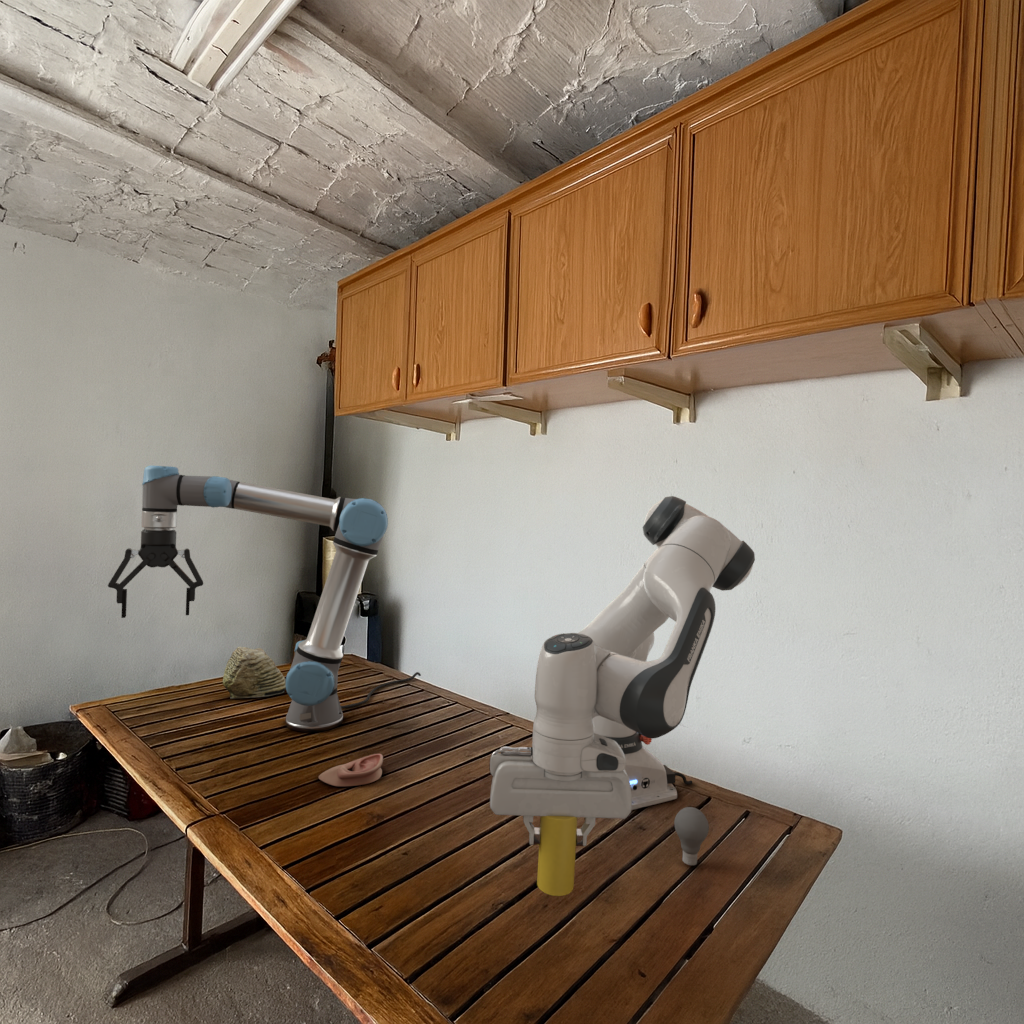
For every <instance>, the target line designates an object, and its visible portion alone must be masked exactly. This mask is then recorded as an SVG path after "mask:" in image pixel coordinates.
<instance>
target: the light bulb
mask: <svg viewBox="0 0 1024 1024" xmlns="http://www.w3.org/2000/svg"><path fill="white" fill-rule="evenodd" d="M673 825H674V830H675V832H676V834H677V836H678V838H679V840H680V846H681V849H682V858H681V860H682V862H683V863H684V864H686V865H688V866H696V865H697V864H698V854H699V852H700V849H701V846H702V844H703V842H704V841H705V840H706V838H707V836H708V834H709V830H710V824H709V821H708V819H707V817H706V815H705V814H704V812H702V811H701V810H700V809H698V808H697V807H692V806H685V807H683V808H681V809H680V810H679V811H678V812H677V813H676V815H675V818H674V822H673Z"/></svg>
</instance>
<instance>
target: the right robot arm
mask: <svg viewBox="0 0 1024 1024" xmlns="http://www.w3.org/2000/svg"><path fill="white" fill-rule="evenodd" d="M642 533H643V536H644V537H645V538H646V540H647V541H648V542H649V543H650V544H651V545H652V546H656V549H655V550H654V551H653V552H652V553H651V554H650V556H649V557H647V559H646V561H645V562H644V563H643V564H642V565H641V567H640V568H639V569H638V571H637V572H636V574H634V576H633V577H632V578H631V580H630V581H629V582H628V584H626V586H625V587H624V588H623V589H622V591H620V593H619V594H618V595H617V596H616V597H615V598H614V599H613V600H611V602H609V603H608V604H607V605H606V606H605V607H604V608H603V609H602V610H601V611H599V613H598V614H597V615H596V616H595V617H594V618H593V619H592V620H591V621H590V622H589V623H588V624H587V625H586V626H585V627H584V628H582V629H581V630H580V631H578V632H567V633H558V634H555V635H552V636H550V637H548V638H547V639H545V640H544V642H543V644H542V646H541V648H540V651H539V655H538V658H537V663H536V672H535V681H534V682H535V683H534V701H535V705H536V711H535V712H536V713H535V717H534V719H533V725H532V737H531V738H532V739H531V742H532V743H531V746H518V747H517V746H516V747H512V746H511V747H510V746H501V747H500V748H499V749H497V750H495V751H493V752H492V753H491V755H490V757H489V763H488V764H489V767H488V768H489V769H488V770H489V774H490V775H491V776H492V780H491V786H490V795H489V807H490V808H489V809H490V810H491V812H492V813H493V814H494V815H496V816H519V817H520V816H522V820H523V821H522V822H523V824H524V826H525V828H526V830H527V831H528V840H529V845H530V846H539V845H540V835H541V834H540V827H535V826H534V824H533V823H534V817H540V816H573V817H577V818H583V819H584V822H583V824H582V825H581V827H580V828H577V834H576V847H587V844H588V841H587V840H588V836H589V835H590V833H591V832H592V830H593V829H594V827H595V826H596V819H619V820H622V819H623V820H624V819H626V818H627V817H628V816H629V815H630V814H631V813H632V811H633V810H638V809H642V808H646V807H650V806H653V805H657V804H661V803H665V802H666V803H667V802H670V801H674V800H677V799H678V791H677V788H676V787H675V786H674V784H676V777H680V778H681V779H682V782H683V784H685V785H687V786H690V785H693V781H692V780H687V778H686V775H684V774H683V773H681V772H677V771H673V770H672V769H671V768H669V767H668V766H667V765H666V764H663V763H662V761H661V760H660V759H659V758H658V757H656V756H655V755H654V754H653V753H652V752H651V751H650V750H648V749H647V748H646V747H645V746H644V745H643V744H645V745H646V746H648V745H650V744H651V743H652V741H653V739H658V738H660V737H662V736H665V735H667V734H669V733H671V732H672V731H673V730H675V729H676V728H678V726H679V725H680V724H681V722H682V721H683V719H684V715H685V713H686V710H687V705H688V700H689V694H690V690H691V687H692V686H691V685H692V683H693V680H694V678H695V675H696V673H697V670H698V667H699V664H700V662H701V659H702V656H703V653H704V651H705V648H706V645H707V643H708V640H709V637H710V634H711V632H712V628H713V625H714V622H715V619H716V618H715V617H716V601H715V598H714V595H713V594H712V593H711V591H712V588H714V589H716V590H720V591H723V592H724V591H732V590H733V589H735V588H736V587H738V586H740V585H741V584H743V583H744V582H745V581H746V580H747V578H748V577H749V576H750V574H751V572H752V570H753V566H754V563H755V561H756V557H755V552H754V549H752V547H751V546H750V545H749V544H747V542H745V540H741V539H740V538H739V537H738V536H737V535H735V534H734V533H733V532H732V531H731V530H730V529H728V527H726V526H725V525H724V524H723V523H722V522H721V521H719V520H717V519H716V518H713V517H711V516H709V515H708V514H706V513H704V512H702V511H701V510H699V509H698V508H696V507H694V506H692V505H690V504H688V503H687V501H686V500H684V499H682V498H680V497H678V496H674V495H670V496H664V498H663V499H660V500H658V501H657V502H656V503H654V504H653V505H652V506H651V507H650V508H649V510H648V511H647V513H646V515H645V518H644V521H643V526H642ZM669 618H670V619H671V620H672V621H674V622H675V624H674V626H673V629H672V631H671V633H670V636H669V637H668V640H667V642H666V645H665V647H664V650H663V651H662V654H661V656H660V657H658V658H657V659H654V660H648V657H649V655H650V652H651V650H652V649H653V647H654V645H655V633H654V632H656V631H657V630H658V629H659V628H660V627H661V626H663V625H664V624H665V623H666V622H667V621H668V619H669Z"/></svg>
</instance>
